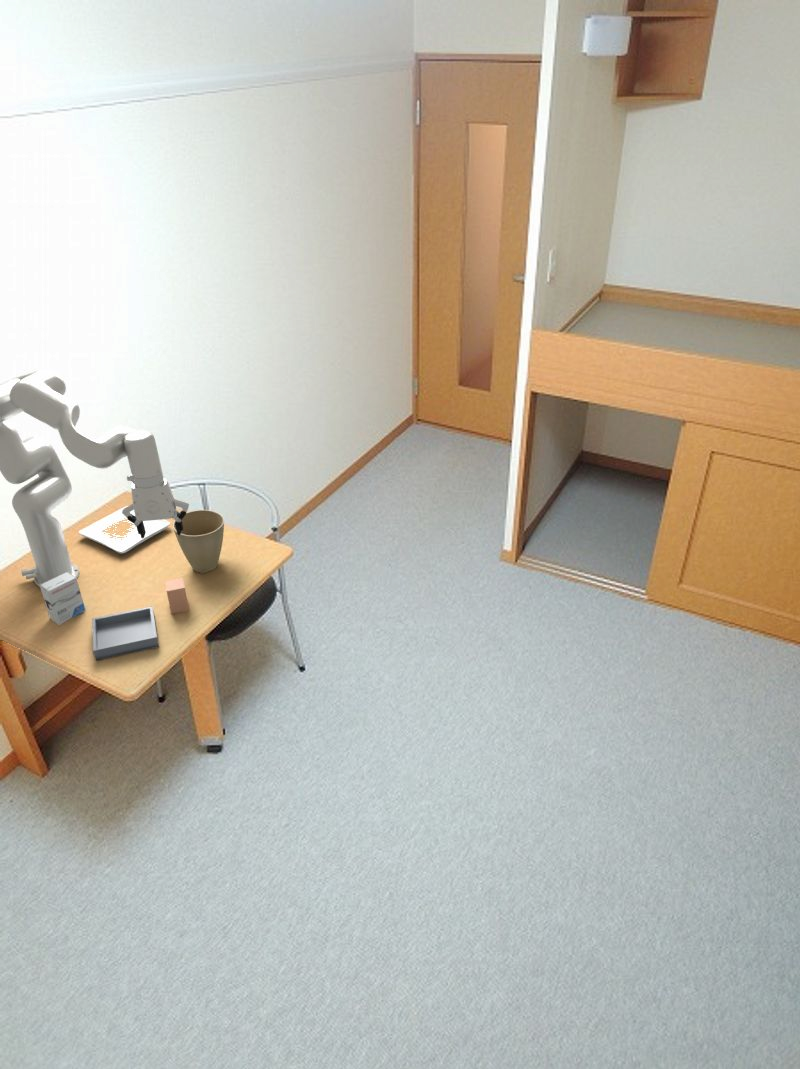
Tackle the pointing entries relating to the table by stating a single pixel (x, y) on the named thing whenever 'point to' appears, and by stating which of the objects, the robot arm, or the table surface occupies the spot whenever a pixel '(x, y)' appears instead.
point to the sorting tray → (124, 633)
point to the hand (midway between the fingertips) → (161, 534)
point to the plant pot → (201, 539)
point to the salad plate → (132, 537)
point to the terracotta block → (176, 595)
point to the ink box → (62, 597)
